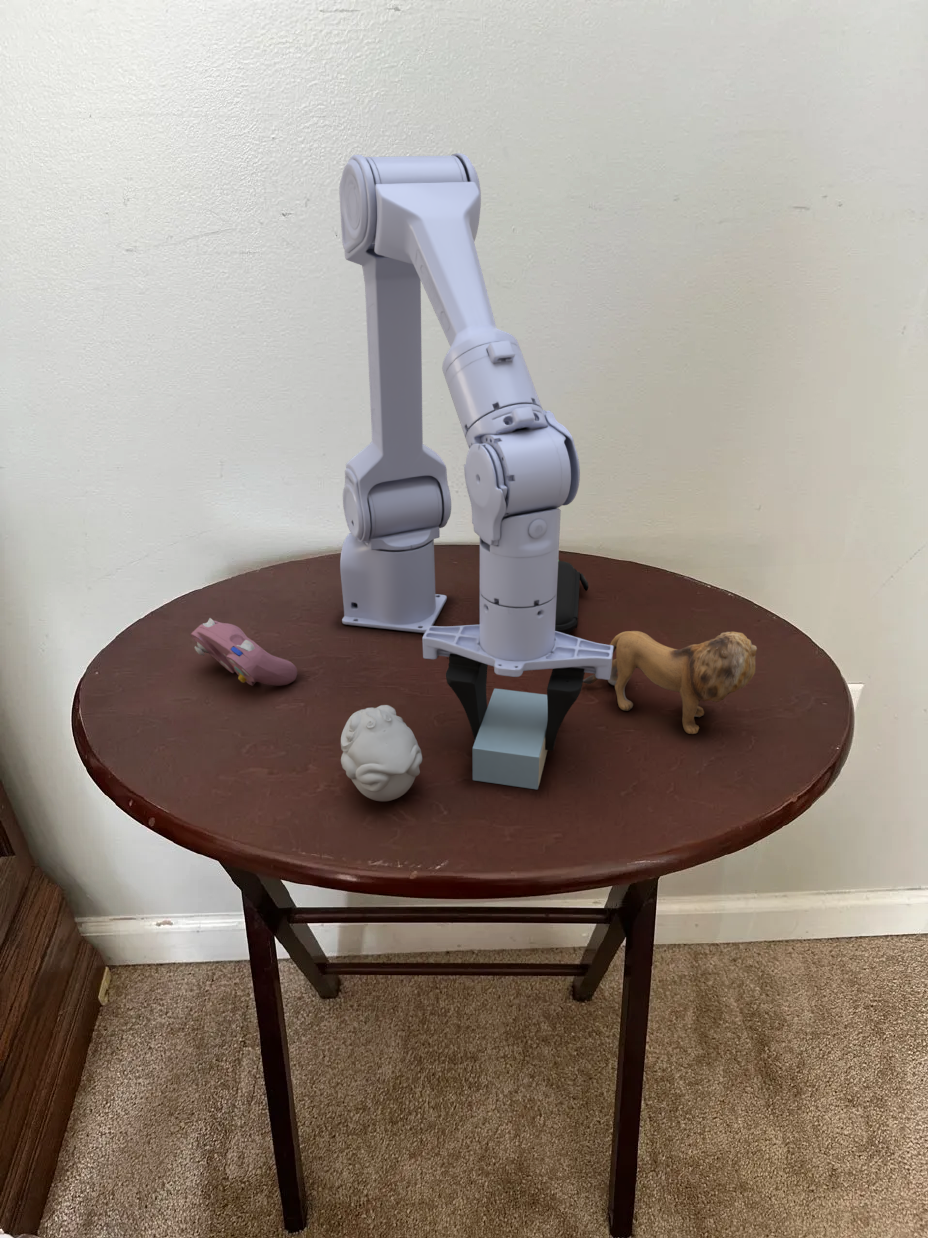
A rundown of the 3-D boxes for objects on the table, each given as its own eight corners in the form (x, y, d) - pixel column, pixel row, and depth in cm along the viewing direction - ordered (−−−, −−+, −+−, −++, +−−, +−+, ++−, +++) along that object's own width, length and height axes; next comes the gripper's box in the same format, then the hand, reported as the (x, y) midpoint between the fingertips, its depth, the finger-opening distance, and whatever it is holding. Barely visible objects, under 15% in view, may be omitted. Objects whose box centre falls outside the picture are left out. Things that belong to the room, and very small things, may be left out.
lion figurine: (750, 716, 74) (767, 626, 70) (736, 749, 70) (753, 656, 66) (591, 673, 80) (598, 588, 76) (570, 702, 76) (575, 614, 72)
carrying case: (586, 646, 85) (587, 581, 97) (588, 620, 83) (589, 556, 96) (480, 640, 86) (495, 576, 99) (480, 613, 85) (495, 552, 97)
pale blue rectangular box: (472, 780, 67) (472, 748, 65) (493, 718, 74) (494, 688, 73) (538, 790, 66) (539, 757, 64) (553, 726, 73) (555, 695, 72)
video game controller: (212, 673, 84) (172, 630, 79) (244, 639, 86) (207, 595, 81) (272, 712, 78) (233, 668, 73) (305, 675, 80) (269, 630, 75)
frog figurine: (396, 754, 70) (392, 683, 67) (440, 802, 65) (438, 727, 61) (329, 780, 67) (321, 708, 64) (369, 833, 62) (363, 756, 59)
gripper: (408, 605, 61) (415, 756, 67) (612, 626, 58) (599, 782, 65) (434, 563, 67) (438, 706, 73) (620, 581, 64) (607, 727, 71)
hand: (514, 738), depth 69 cm, fingers closed on pale blue rectangular box, 5 cm apart
